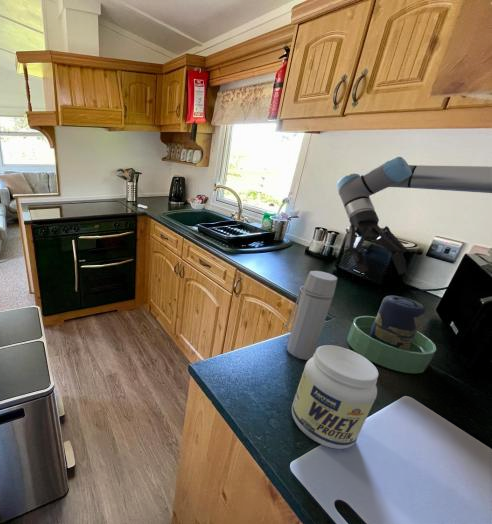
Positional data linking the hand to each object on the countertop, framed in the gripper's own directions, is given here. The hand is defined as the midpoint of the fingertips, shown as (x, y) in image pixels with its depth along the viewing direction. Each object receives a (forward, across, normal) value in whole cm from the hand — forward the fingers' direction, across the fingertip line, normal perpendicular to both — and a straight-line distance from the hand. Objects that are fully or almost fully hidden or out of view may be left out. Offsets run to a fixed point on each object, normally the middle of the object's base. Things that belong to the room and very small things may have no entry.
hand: (384, 272), depth 90 cm
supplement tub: (+40, +39, +8) cm, 56 cm away
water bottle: (+22, +29, -9) cm, 38 cm away
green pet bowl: (+23, +1, -9) cm, 24 cm away
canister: (+22, +1, -9) cm, 24 cm away
